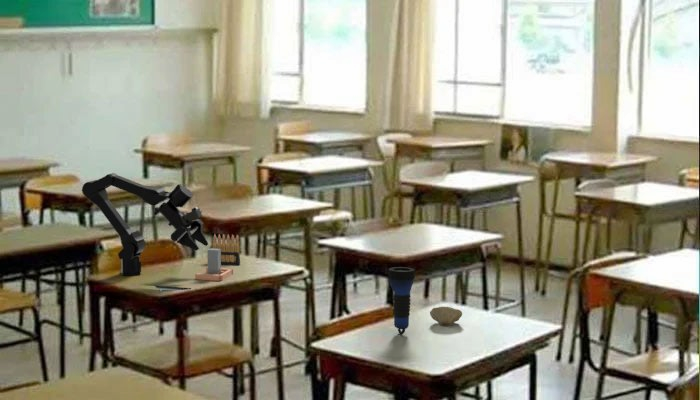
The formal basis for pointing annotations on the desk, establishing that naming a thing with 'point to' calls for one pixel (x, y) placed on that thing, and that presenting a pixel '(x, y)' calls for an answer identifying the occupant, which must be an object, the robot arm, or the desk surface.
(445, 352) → the desk surface
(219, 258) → the grey rectangular block
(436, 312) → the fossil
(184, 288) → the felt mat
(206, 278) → the slotted box
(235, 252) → the ammunition clip
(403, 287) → the flashlight
